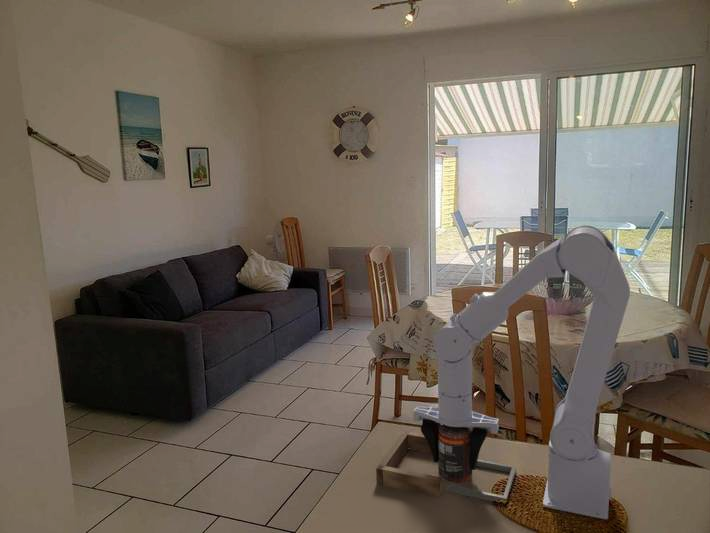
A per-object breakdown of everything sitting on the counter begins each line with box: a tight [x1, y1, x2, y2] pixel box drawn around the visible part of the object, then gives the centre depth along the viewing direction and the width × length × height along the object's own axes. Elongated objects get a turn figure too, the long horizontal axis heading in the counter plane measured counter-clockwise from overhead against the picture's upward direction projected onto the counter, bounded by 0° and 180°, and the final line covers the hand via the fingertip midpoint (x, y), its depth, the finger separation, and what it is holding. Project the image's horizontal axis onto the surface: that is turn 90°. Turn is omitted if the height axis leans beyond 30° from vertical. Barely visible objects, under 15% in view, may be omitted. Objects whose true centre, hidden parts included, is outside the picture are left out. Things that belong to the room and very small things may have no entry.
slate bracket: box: [447, 458, 517, 502], centre depth 96 cm, size 10×10×1 cm
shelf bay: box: [375, 430, 442, 498], centre depth 100 cm, size 11×14×3 cm
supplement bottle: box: [437, 424, 473, 484], centre depth 97 cm, size 6×6×11 cm
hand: (455, 463), depth 97 cm, fingers closed on supplement bottle, 6 cm apart
